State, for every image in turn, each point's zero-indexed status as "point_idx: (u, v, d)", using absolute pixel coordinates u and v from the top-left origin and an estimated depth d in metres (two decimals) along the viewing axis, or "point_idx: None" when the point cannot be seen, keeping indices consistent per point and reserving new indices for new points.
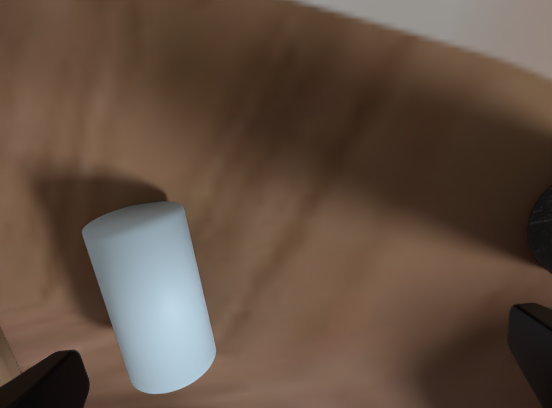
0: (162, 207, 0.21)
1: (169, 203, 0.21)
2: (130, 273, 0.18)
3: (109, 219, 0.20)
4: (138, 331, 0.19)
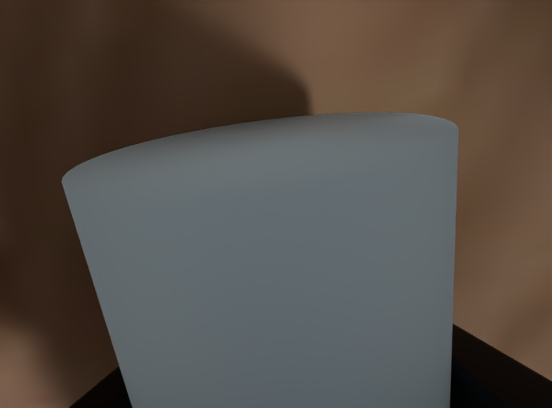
0: (327, 119, 0.06)
1: (336, 115, 0.07)
2: (295, 377, 0.04)
3: (161, 147, 0.06)
4: None
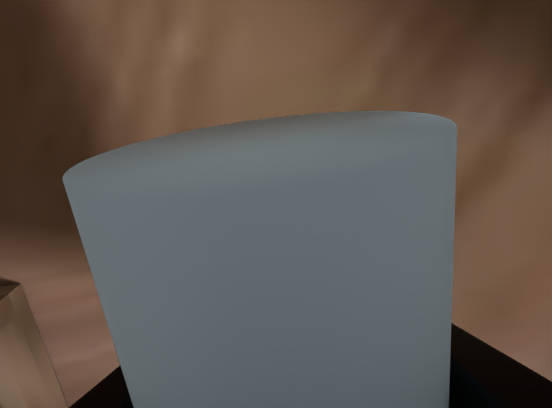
0: (326, 118, 0.07)
1: (335, 113, 0.07)
2: (295, 373, 0.04)
3: (161, 145, 0.06)
4: None
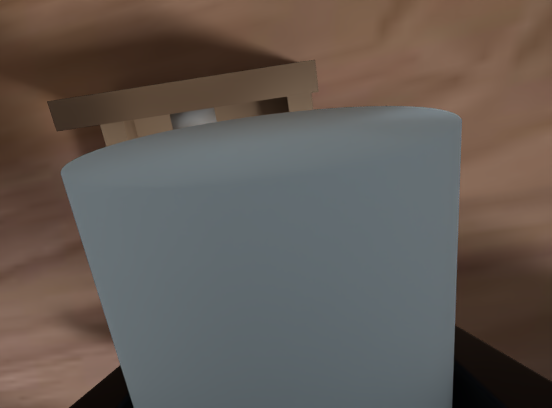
0: (328, 113, 0.06)
1: (337, 109, 0.07)
2: (297, 369, 0.03)
3: (161, 141, 0.06)
4: None
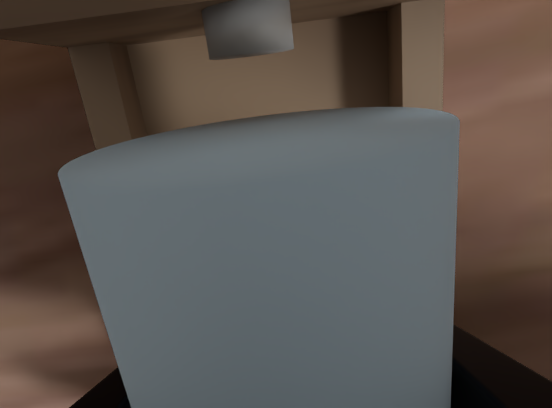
0: (326, 114, 0.06)
1: (336, 110, 0.07)
2: (294, 372, 0.03)
3: (159, 141, 0.06)
4: None
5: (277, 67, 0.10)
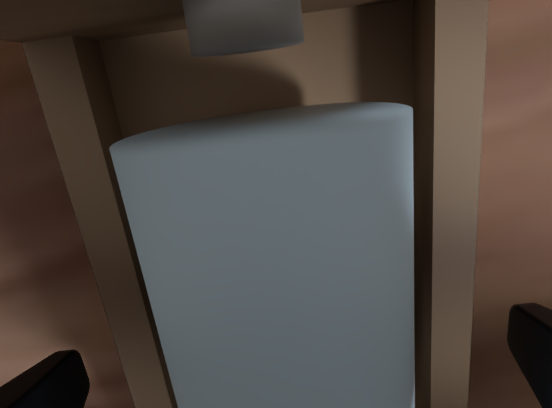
0: (318, 108, 0.08)
1: (326, 104, 0.08)
2: (283, 289, 0.05)
3: (181, 130, 0.07)
4: None
5: (279, 67, 0.09)
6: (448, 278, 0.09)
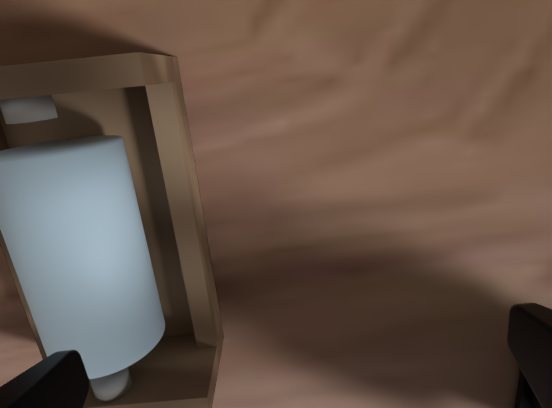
0: (97, 138, 0.16)
1: (108, 136, 0.16)
2: (34, 214, 0.13)
3: (23, 148, 0.15)
4: (48, 295, 0.14)
5: (89, 115, 0.17)
6: (182, 227, 0.17)
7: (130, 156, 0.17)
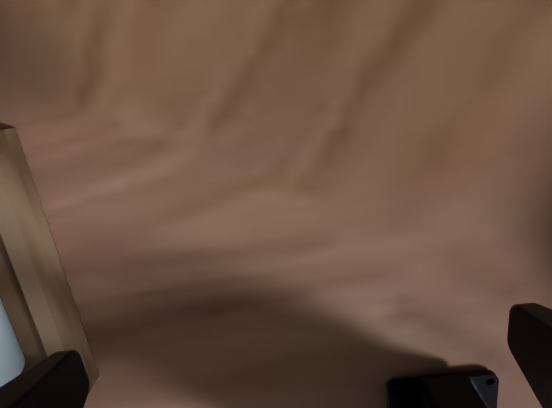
0: None
1: None
2: None
3: None
4: None
5: None
6: (26, 282, 0.19)
7: None
